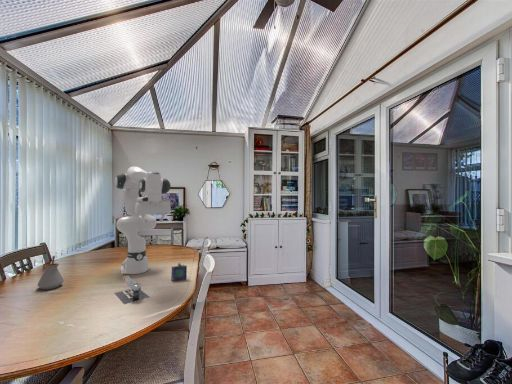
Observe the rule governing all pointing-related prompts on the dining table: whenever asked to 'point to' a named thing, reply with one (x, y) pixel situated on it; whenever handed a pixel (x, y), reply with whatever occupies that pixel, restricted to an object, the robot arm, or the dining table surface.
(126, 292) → the label plate
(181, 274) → the flask
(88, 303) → the dining table surface
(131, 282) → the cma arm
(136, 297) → the dark grey cylinder
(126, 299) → the chassis plate
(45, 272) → the grey vase with sticks
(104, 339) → the dining table surface
